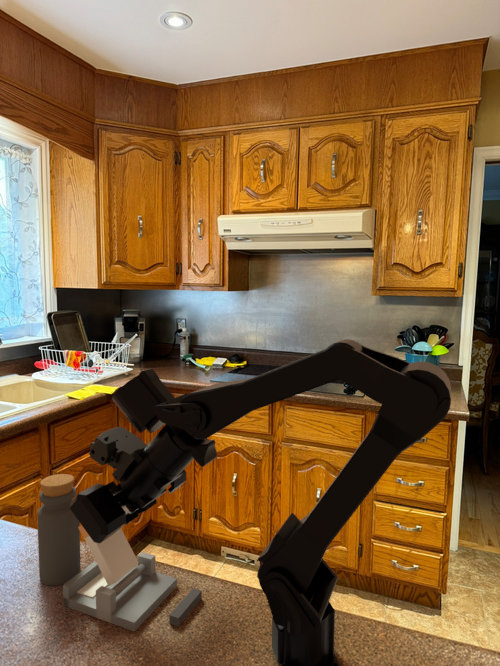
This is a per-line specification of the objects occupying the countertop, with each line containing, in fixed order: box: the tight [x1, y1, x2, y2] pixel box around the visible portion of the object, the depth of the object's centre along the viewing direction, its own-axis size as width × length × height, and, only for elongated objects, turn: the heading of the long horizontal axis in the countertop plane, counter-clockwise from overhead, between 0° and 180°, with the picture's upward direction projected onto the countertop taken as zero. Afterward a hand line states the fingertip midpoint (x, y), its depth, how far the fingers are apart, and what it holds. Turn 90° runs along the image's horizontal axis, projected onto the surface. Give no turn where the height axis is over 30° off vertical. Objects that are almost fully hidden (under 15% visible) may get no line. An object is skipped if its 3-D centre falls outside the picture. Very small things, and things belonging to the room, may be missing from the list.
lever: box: [78, 524, 146, 597], centre depth 66 cm, size 2×7×11 cm
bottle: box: [36, 473, 81, 586], centre depth 70 cm, size 6×6×15 cm
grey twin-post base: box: [62, 551, 178, 632], centre depth 65 cm, size 12×10×4 cm
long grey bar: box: [168, 587, 203, 627], centre depth 62 cm, size 6×1×1 cm, turn 156°
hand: (103, 523), depth 66 cm, fingers closed, pressing on lever
